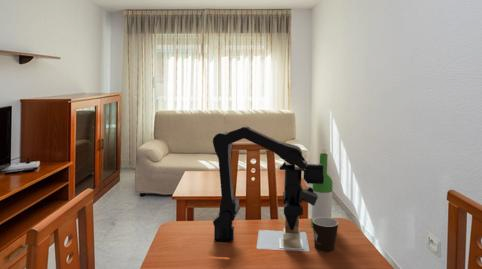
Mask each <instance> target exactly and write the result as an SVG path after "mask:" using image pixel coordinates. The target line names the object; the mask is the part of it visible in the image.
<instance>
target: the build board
mask: <svg viewBox="0 0 482 269" xmlns="http://www.w3.org/2000/svg"><path fill="white" fill-rule="evenodd" d="M257 233H258V234H257V240H256V249H257V250H258V249H259V250H274V251H275V250H276V251H278V250H279V251H291V252H292V251H294V252H311V251H310V248H309V242H308V237H307V232H305V231H300V247H299V248H292V247H283V230H270V229H269V230H268V229H267V230H265V229H258V232H257Z"/></svg>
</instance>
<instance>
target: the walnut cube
mask: <svg viewBox="0 0 482 269" xmlns="http://www.w3.org/2000/svg"><path fill="white" fill-rule="evenodd" d="M284 217H285V216H284ZM284 220H285V222H284V227H285V233H298V230H299V231H300V228H299V227H300V226H299V224H300V219H299V216H298V217H297V220H296V223H295V227H294V230H290V227H289V225H288V222H287V220H286V217H285V218H284Z"/></svg>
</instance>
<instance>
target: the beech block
mask: <svg viewBox="0 0 482 269" xmlns="http://www.w3.org/2000/svg"><path fill="white" fill-rule="evenodd" d="M282 231H283V247H292V248H299V247H300V232H301V231H300V229H299V230H298V233H285V226H283V230H282Z"/></svg>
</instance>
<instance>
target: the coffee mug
mask: <svg viewBox="0 0 482 269" xmlns="http://www.w3.org/2000/svg"><path fill="white" fill-rule="evenodd" d="M338 228H339V221H338V220H336V219H334V218H332V217H331V218H327V217H318V218H314V219H313V227H312V230H313V242H314V248H315V250H317V251H319V252H322V253H323V252H324V253H330V252H333V251H335V245H336V240H337V239H336V238H337V235H338Z"/></svg>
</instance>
